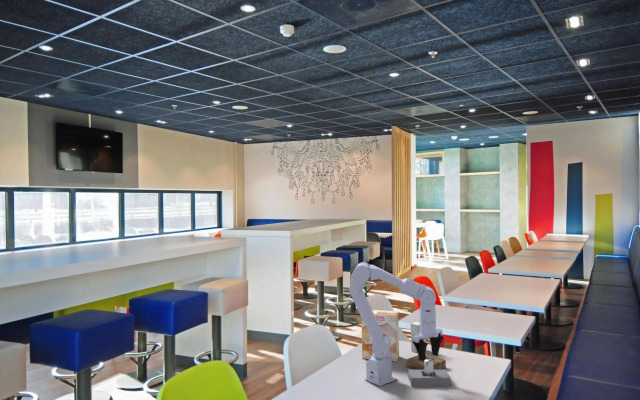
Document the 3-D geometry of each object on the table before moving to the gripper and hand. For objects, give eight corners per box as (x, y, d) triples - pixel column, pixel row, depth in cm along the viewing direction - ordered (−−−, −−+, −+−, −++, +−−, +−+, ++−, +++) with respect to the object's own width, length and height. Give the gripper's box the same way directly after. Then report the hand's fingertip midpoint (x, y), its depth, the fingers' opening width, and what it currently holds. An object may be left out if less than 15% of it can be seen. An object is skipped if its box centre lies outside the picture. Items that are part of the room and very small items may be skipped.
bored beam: (411, 386, 167) (411, 377, 167) (408, 377, 175) (408, 369, 175) (450, 386, 166) (450, 377, 166) (445, 377, 174) (445, 369, 174)
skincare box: (419, 353, 202) (418, 325, 202) (410, 350, 205) (409, 323, 205) (427, 349, 206) (426, 322, 206) (418, 347, 210) (417, 320, 210)
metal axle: (429, 384, 168) (429, 362, 168) (422, 381, 171) (422, 360, 171) (435, 381, 170) (434, 360, 170) (428, 379, 173) (427, 358, 173)
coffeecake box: (361, 358, 197) (360, 312, 196) (365, 353, 203) (364, 308, 203) (397, 361, 192) (396, 314, 192) (399, 356, 199) (398, 310, 199)
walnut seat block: (428, 374, 178) (428, 366, 178) (406, 366, 186) (406, 359, 186) (445, 367, 185) (445, 359, 185) (423, 360, 193) (423, 353, 193)
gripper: (424, 326, 163) (424, 365, 163) (448, 319, 172) (449, 355, 172) (408, 322, 168) (409, 360, 168) (433, 315, 178) (434, 351, 178)
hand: (428, 357), depth 171 cm, fingers open, 7 cm apart
